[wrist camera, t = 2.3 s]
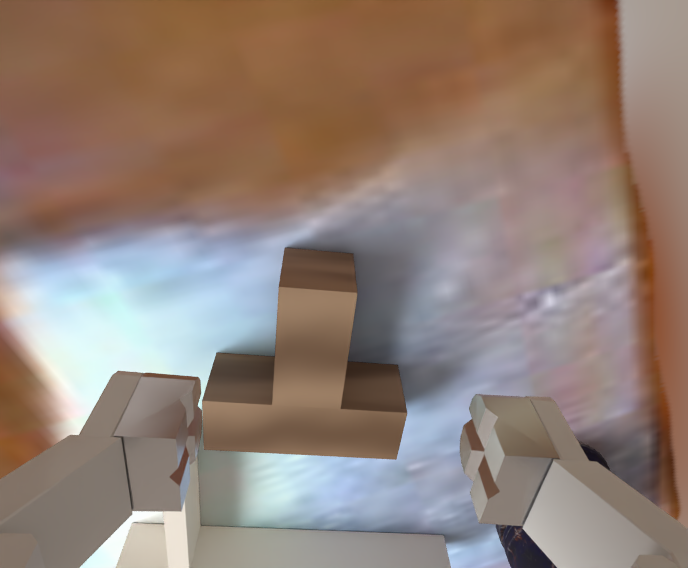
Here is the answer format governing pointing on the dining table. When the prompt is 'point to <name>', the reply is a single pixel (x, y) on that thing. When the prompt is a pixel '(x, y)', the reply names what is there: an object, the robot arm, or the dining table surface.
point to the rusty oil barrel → (520, 549)
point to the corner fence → (269, 545)
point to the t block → (307, 376)
